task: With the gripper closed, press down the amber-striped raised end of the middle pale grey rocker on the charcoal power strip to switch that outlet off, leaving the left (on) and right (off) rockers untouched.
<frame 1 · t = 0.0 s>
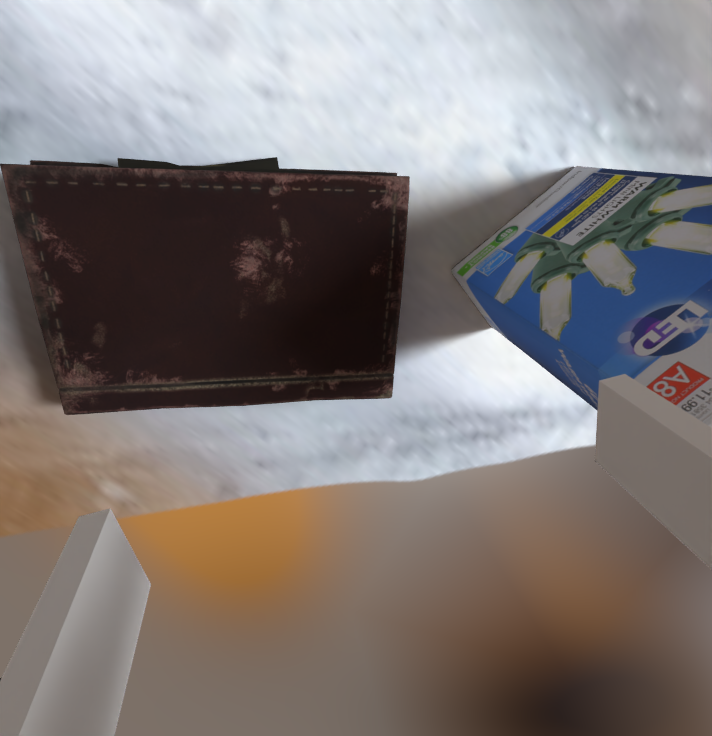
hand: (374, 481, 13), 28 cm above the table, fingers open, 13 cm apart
string lights box: (531, 252, 42), on the table
diary: (233, 282, 38), on the table
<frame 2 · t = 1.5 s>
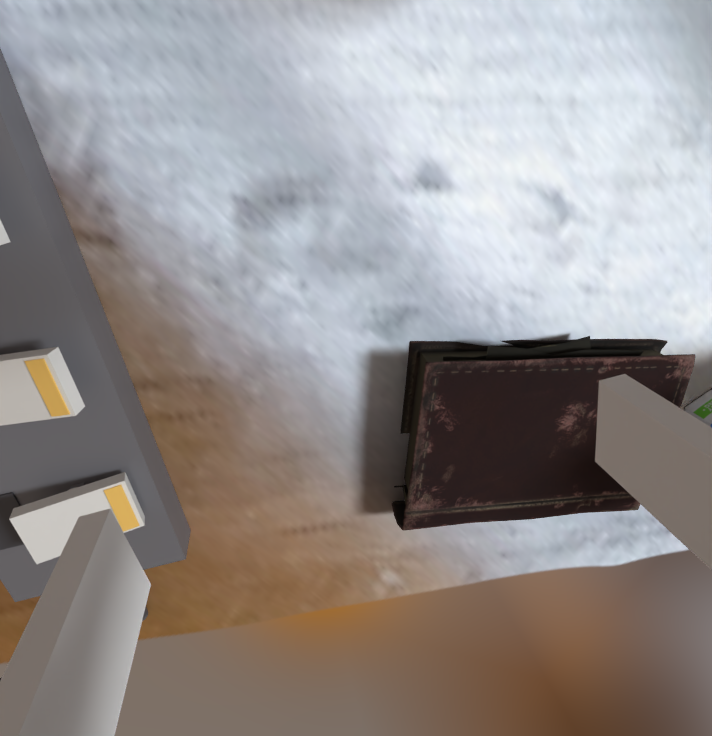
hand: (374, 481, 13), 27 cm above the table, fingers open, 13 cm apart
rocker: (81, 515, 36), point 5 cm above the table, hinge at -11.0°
rocker middle: (13, 387, 31), point 5 cm above the table, hinge at 11.0°
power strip: (19, 362, 36), on the table
diary: (520, 418, 48), on the table
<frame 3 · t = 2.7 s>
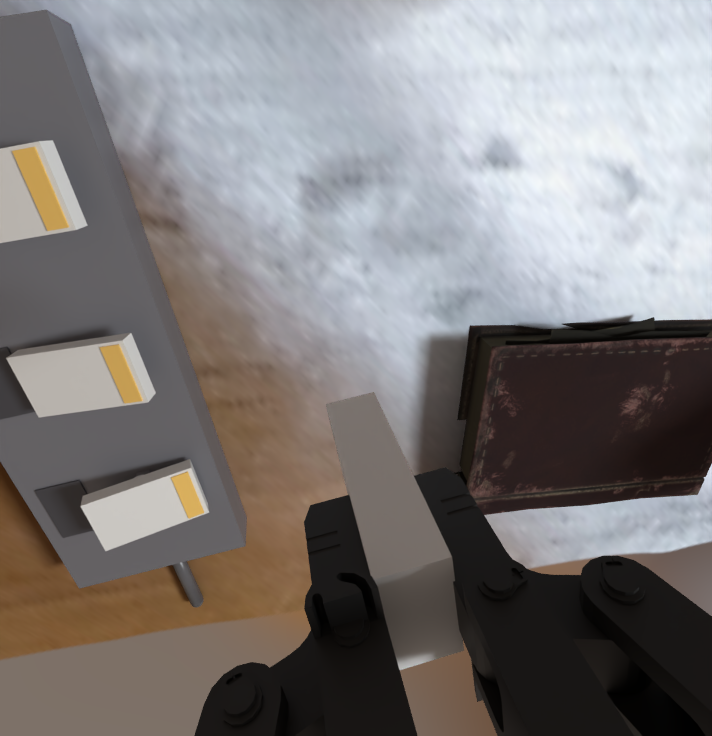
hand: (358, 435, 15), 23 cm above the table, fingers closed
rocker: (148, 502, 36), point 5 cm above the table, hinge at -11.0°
rocker middle: (85, 374, 31), point 5 cm above the table, hinge at 11.0°
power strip: (83, 349, 36), on the table
diary: (577, 403, 47), on the table
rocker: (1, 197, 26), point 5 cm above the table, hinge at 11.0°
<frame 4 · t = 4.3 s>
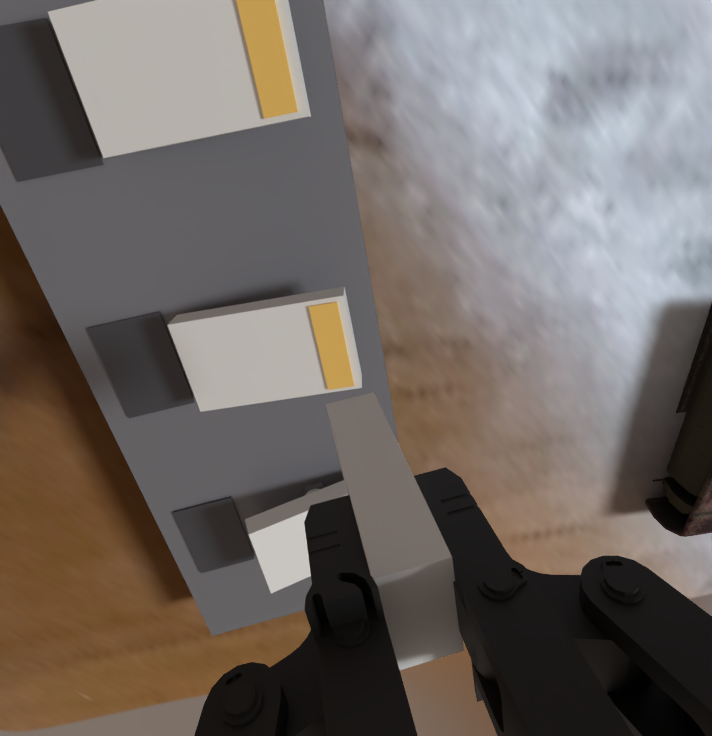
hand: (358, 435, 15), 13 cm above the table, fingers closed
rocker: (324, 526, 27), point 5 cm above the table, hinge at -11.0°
rocker middle: (270, 349, 22), point 5 cm above the table, hinge at 11.0°
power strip: (237, 320, 26), on the table
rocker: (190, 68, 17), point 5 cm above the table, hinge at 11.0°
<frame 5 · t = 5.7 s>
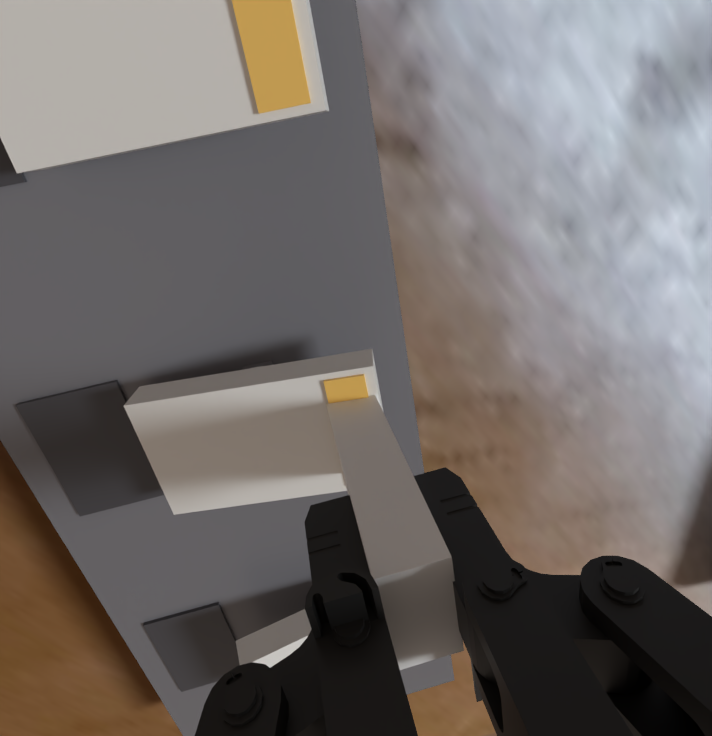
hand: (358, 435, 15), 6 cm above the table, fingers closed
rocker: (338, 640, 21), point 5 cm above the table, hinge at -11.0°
rocker middle: (269, 432, 16), point 5 cm above the table, hinge at 10.4°, touching gripper
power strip: (226, 377, 20), on the table
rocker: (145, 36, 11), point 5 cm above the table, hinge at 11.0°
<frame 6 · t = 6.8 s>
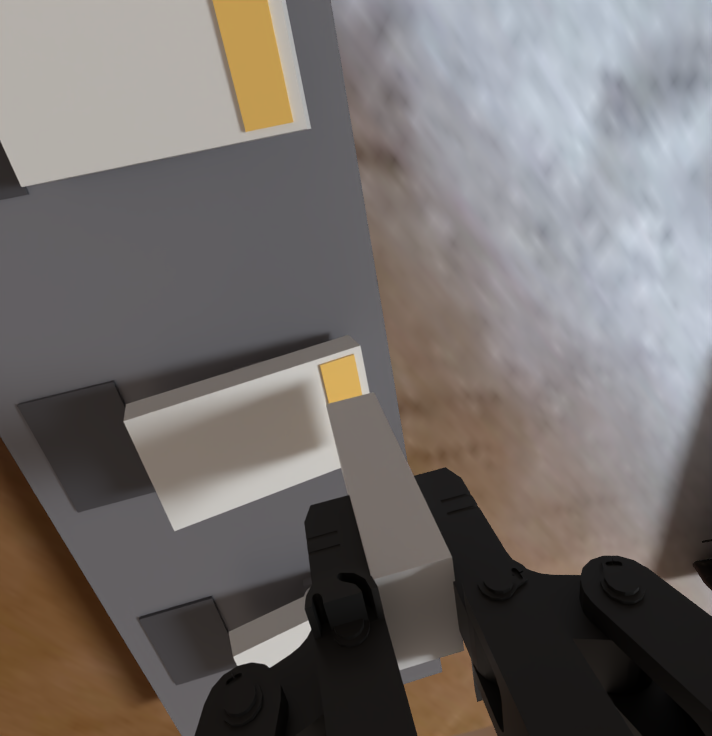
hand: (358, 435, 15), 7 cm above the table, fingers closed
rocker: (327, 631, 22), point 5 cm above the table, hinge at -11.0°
rocker middle: (262, 427, 17), point 5 cm above the table, hinge at -9.3°
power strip: (218, 378, 21), on the table
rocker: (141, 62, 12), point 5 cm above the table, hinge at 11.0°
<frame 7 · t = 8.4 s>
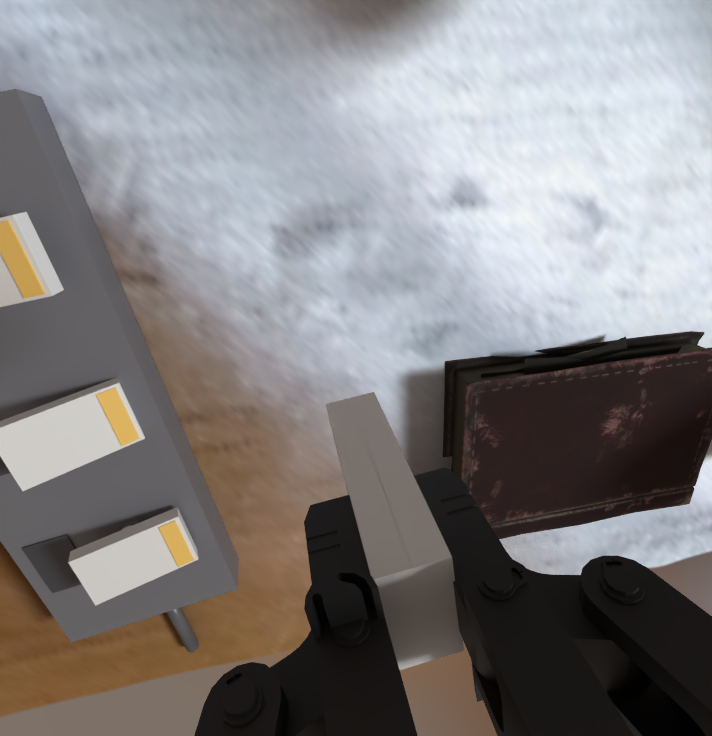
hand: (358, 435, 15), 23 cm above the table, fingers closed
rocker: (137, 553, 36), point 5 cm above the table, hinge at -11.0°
rocker middle: (71, 431, 31), point 5 cm above the table, hinge at -19.1°, touching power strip
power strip: (67, 404, 36), on the table
diary: (561, 424, 47), on the table
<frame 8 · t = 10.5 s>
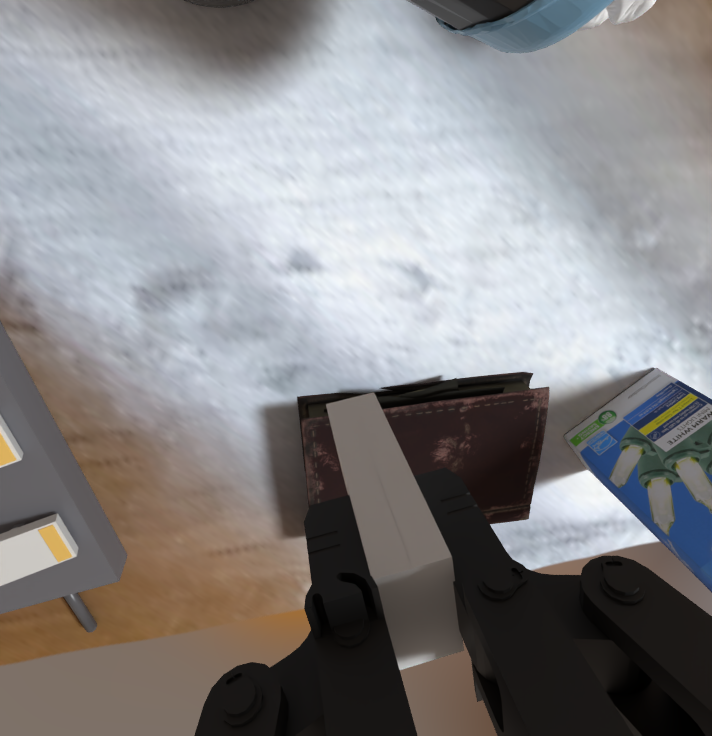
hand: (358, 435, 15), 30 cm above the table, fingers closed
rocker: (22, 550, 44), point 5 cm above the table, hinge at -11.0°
string lights box: (619, 420, 58), on the table
diary: (414, 448, 54), on the table
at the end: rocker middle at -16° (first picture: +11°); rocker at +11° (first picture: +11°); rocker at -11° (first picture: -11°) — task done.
